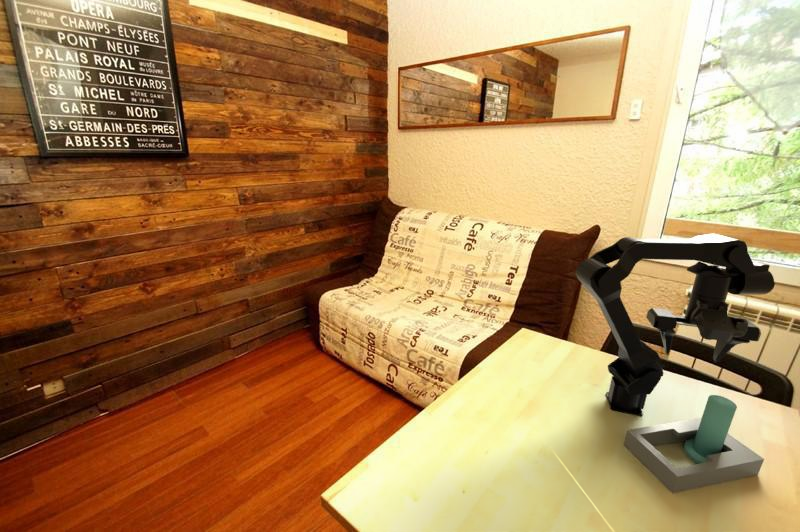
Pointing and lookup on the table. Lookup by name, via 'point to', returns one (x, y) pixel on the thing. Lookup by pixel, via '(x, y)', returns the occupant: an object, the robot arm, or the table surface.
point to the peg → (711, 429)
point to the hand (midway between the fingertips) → (690, 357)
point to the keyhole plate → (718, 469)
